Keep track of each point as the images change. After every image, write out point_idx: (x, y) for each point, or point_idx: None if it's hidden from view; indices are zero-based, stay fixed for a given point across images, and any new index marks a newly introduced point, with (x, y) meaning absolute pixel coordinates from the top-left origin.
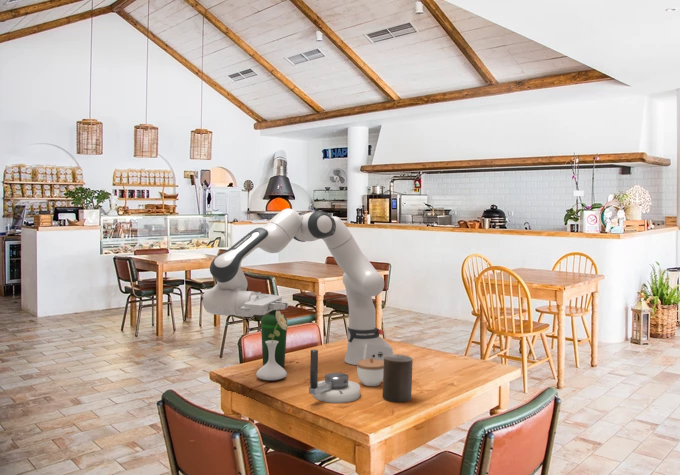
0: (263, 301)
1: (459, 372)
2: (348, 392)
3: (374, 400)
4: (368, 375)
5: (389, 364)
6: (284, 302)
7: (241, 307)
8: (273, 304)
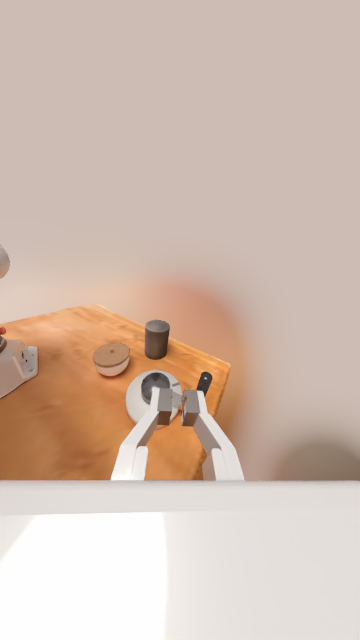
0: (320, 594)
1: (93, 320)
2: (173, 377)
3: (164, 364)
4: (128, 361)
5: (167, 332)
6: (154, 400)
7: None
8: (234, 451)
